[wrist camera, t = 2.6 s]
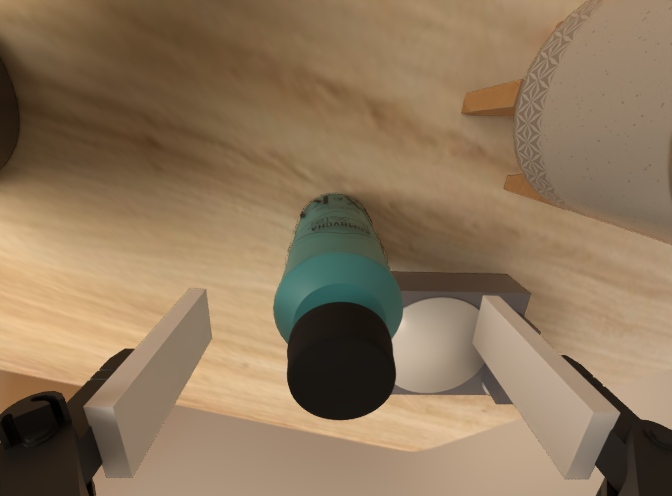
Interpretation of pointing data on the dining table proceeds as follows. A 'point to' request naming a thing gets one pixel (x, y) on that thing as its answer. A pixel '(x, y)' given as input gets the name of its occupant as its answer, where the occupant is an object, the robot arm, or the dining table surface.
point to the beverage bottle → (338, 312)
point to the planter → (596, 116)
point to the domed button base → (448, 332)
